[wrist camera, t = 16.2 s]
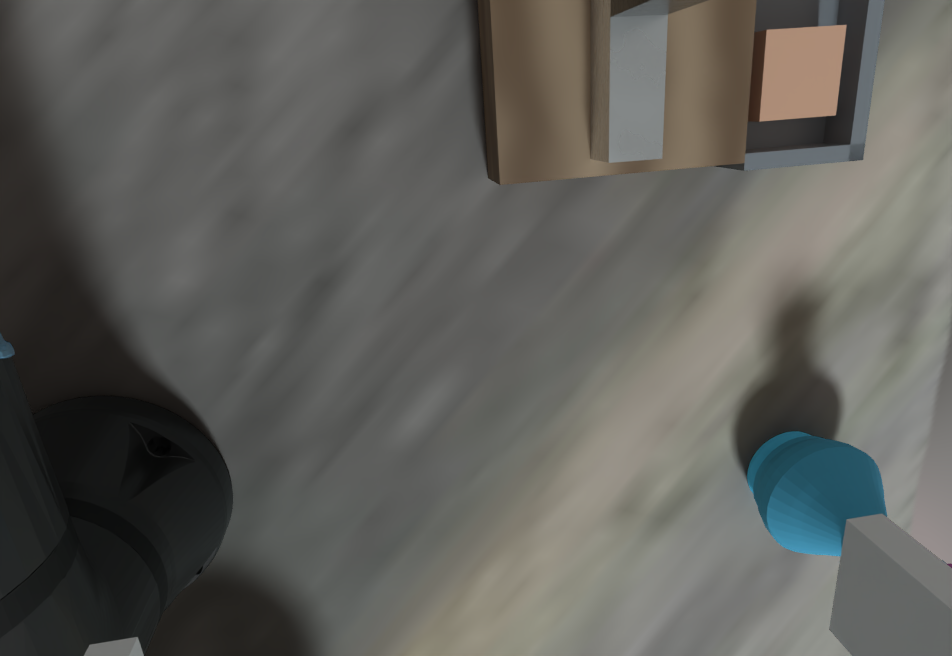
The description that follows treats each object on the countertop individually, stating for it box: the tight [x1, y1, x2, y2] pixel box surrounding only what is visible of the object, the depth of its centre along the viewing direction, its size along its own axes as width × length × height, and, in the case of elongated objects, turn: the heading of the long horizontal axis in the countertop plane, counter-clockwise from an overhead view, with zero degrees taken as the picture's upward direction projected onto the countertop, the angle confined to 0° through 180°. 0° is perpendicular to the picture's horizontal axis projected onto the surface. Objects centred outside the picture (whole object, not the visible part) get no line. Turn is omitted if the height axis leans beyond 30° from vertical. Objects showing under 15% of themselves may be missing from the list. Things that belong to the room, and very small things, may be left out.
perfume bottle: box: [747, 431, 952, 568], centre depth 43 cm, size 9×9×15 cm
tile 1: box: [748, 25, 847, 122], centre depth 38 cm, size 5×5×2 cm
